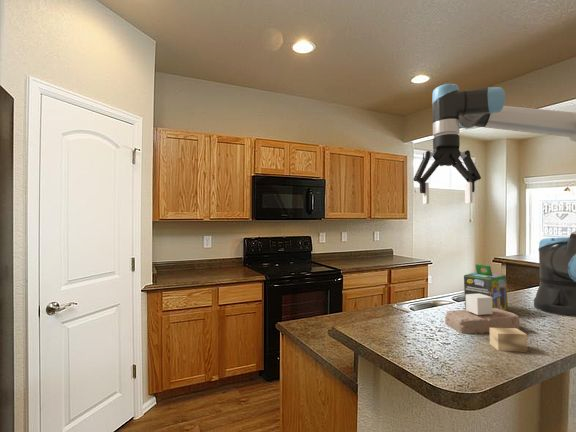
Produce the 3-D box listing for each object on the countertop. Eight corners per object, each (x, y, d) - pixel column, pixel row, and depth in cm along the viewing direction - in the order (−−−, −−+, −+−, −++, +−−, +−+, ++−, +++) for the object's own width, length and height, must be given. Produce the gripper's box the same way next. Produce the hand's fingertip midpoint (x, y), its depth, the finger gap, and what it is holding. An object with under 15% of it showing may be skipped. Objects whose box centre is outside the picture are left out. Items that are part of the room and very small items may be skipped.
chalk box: (508, 311, 103) (507, 265, 103) (492, 315, 99) (491, 267, 99) (479, 304, 111) (478, 261, 111) (463, 308, 107) (462, 264, 107)
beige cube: (480, 309, 92) (479, 293, 92) (492, 313, 87) (492, 297, 87) (465, 310, 91) (465, 294, 91) (477, 314, 86) (477, 298, 86)
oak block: (517, 345, 76) (516, 328, 76) (527, 352, 72) (526, 334, 72) (489, 344, 77) (489, 327, 77) (498, 351, 73) (498, 333, 73)
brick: (461, 335, 84) (461, 317, 84) (443, 325, 92) (443, 308, 92) (521, 333, 85) (521, 315, 85) (498, 323, 93) (498, 307, 93)
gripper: (477, 138, 105) (479, 203, 105) (402, 139, 105) (403, 204, 105) (492, 132, 98) (494, 202, 98) (411, 133, 97) (412, 203, 97)
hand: (447, 203), depth 101 cm, fingers open, 13 cm apart
